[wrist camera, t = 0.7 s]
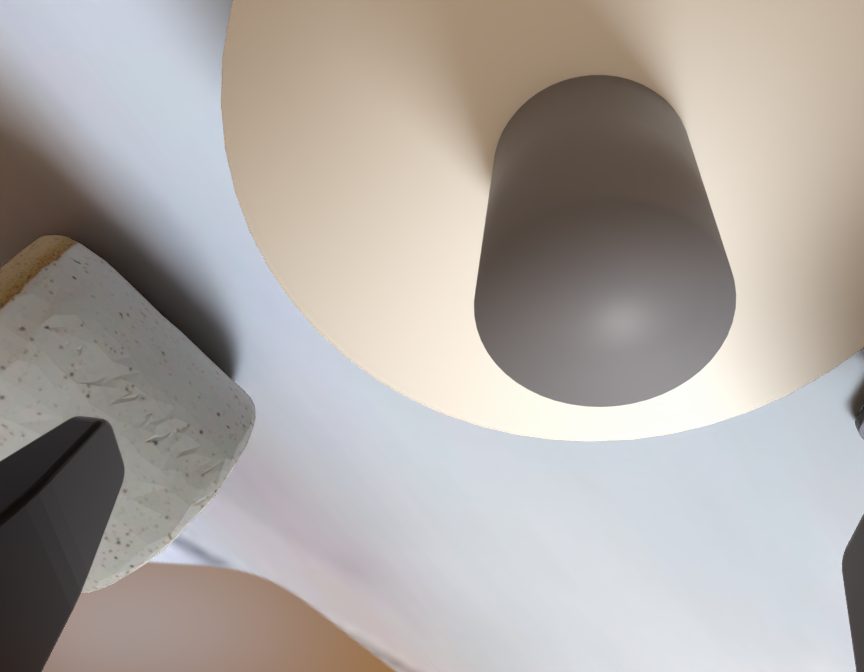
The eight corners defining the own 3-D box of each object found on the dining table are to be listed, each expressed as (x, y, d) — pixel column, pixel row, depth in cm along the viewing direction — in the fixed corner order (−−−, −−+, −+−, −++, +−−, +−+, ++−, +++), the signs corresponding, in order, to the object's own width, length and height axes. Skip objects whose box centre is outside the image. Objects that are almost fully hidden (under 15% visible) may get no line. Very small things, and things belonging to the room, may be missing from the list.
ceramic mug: (93, 176, 23) (-81, 342, 17) (289, 365, 26) (203, 559, 20) (-85, 331, 27) (-268, 502, 21) (99, 472, 31) (-14, 654, 25)
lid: (1211, -223, 11) (1634, -191, 7) (792, 457, 20) (859, 663, 15) (230, -395, 11) (25, -472, 7) (241, 354, 20) (155, 529, 16)
